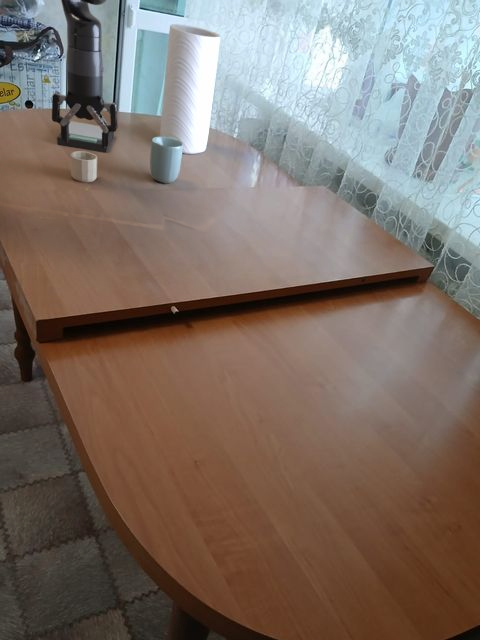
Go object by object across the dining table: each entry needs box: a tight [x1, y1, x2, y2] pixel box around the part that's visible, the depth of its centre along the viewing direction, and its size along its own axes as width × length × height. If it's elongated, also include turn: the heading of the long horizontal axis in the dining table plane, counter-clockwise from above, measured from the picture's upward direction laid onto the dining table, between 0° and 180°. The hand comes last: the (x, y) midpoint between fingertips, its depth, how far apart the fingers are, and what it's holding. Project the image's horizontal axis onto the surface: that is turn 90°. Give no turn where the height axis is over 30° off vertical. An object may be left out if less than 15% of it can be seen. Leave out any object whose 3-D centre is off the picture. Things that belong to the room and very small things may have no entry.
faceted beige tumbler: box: [70, 150, 98, 183], centre depth 132 cm, size 6×6×6 cm
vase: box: [159, 23, 221, 155], centre depth 158 cm, size 14×14×32 cm
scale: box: [56, 120, 115, 153], centre depth 154 cm, size 13×15×3 cm
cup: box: [149, 135, 183, 184], centre depth 140 cm, size 8×8×10 cm
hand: (85, 144), depth 129 cm, fingers open, 8 cm apart
